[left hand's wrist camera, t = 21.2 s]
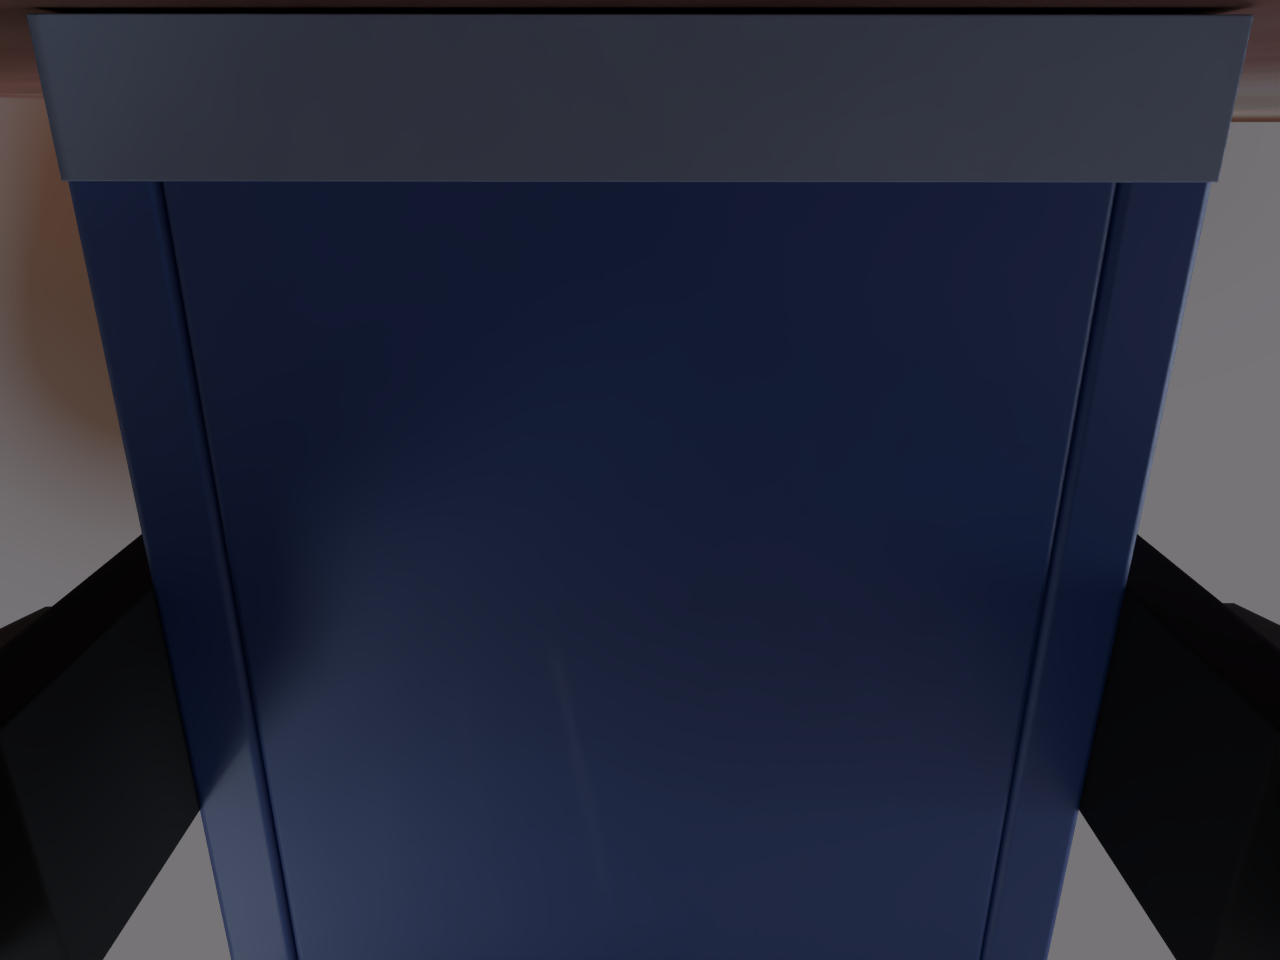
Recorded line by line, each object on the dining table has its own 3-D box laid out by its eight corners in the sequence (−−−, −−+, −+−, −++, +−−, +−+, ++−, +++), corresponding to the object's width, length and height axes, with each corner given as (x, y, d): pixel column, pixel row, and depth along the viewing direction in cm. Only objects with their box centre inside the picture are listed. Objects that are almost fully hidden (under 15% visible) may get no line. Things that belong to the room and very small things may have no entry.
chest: (846, 96, 21) (816, 497, 25) (435, 96, 21) (464, 497, 25) (1255, 14, 7) (1048, 976, 11) (25, 13, 7) (228, 974, 11)
